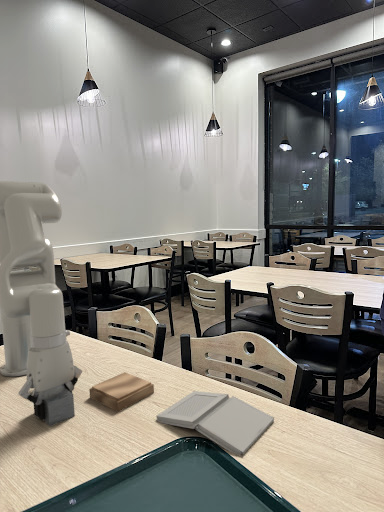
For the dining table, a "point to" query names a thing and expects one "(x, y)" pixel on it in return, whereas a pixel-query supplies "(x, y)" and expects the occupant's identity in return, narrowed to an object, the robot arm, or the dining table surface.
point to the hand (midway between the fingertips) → (54, 411)
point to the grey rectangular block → (58, 405)
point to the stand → (121, 391)
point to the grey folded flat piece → (219, 419)
